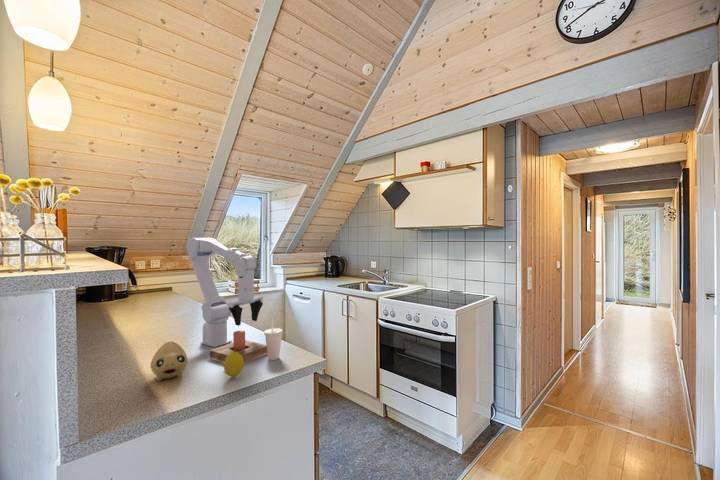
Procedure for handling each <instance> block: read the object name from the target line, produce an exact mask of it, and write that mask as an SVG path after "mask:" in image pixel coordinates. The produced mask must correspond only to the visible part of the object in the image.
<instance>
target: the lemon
mask: <svg viewBox="0 0 720 480" xmlns="http://www.w3.org/2000/svg"><path fill="white" fill-rule="evenodd" d="M244 364H245V363H244V362H243V358H242V356H241V355H240V354H239V353H236V352H232V353H231V354H229V355H228V356H227V357H226V359H225V362H224V363H223V368H224V373H225V375H226V376H228V377H230V378H232V379H236V378H237V377H238V376H239V375H241V373H243V369H244V367H245V366H244Z"/></svg>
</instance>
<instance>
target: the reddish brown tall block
mask: <svg viewBox="0 0 720 480" xmlns="http://www.w3.org/2000/svg"><path fill="white" fill-rule="evenodd" d="M232 336H233V339H232V343H233V350H234V351H241V350H244V349H245V340H246V331H244V330H236V331H234V332H233V334H232Z"/></svg>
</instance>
